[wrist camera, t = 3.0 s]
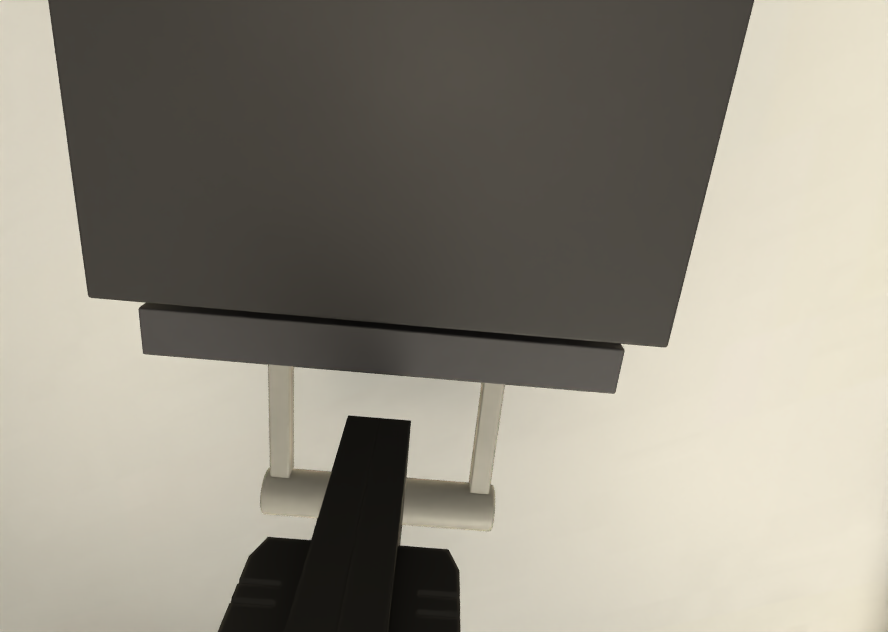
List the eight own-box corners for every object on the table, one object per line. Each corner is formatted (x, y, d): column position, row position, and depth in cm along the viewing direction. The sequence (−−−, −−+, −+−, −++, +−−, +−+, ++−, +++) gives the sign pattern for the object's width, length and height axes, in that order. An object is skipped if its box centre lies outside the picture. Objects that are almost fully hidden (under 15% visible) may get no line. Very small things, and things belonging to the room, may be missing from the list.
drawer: (532, 421, 25) (572, 588, 17) (256, 398, 25) (163, 557, 17) (635, -195, 18) (798, -428, 9) (239, -239, 17) (52, -519, 9)
